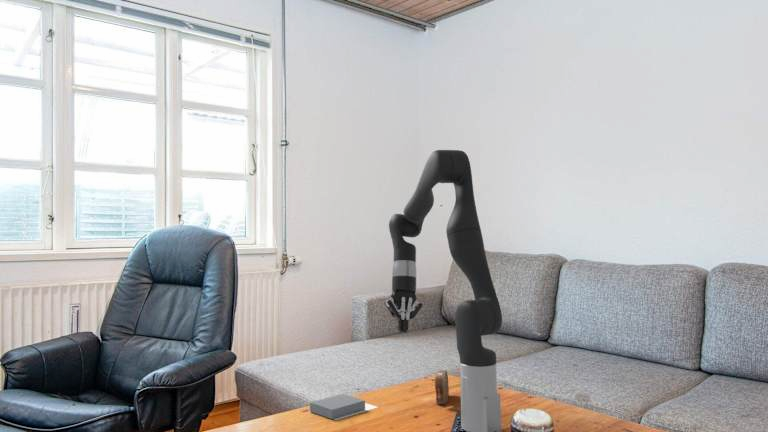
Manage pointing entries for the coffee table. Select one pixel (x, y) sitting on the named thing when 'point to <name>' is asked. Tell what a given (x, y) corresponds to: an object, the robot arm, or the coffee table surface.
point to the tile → (337, 406)
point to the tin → (441, 387)
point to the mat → (367, 407)
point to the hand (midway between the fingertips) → (403, 332)
